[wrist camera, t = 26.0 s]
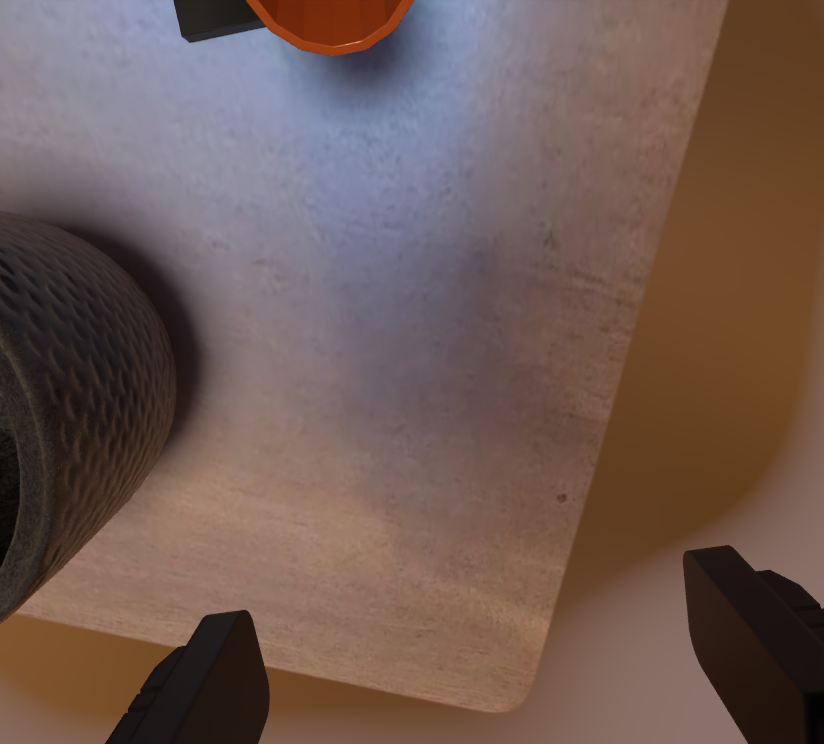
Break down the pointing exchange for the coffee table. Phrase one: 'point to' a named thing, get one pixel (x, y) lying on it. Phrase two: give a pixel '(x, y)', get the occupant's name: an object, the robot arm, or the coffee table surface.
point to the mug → (331, 22)
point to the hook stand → (214, 18)
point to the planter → (71, 398)
